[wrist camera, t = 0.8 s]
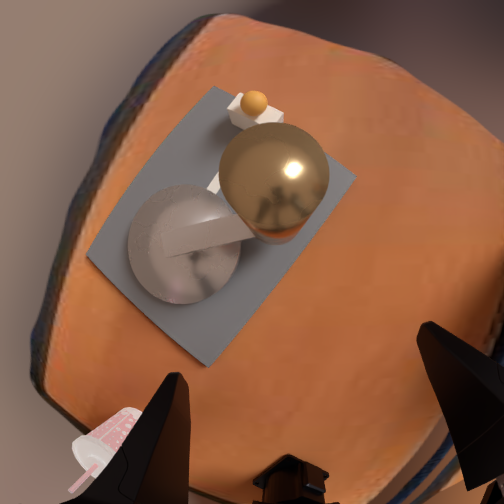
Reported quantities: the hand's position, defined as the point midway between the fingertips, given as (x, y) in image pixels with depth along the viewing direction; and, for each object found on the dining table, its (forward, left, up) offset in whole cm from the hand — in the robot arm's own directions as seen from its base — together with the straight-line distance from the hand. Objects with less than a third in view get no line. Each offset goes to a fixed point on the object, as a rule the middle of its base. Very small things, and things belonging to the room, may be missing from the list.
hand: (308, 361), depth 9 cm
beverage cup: (-22, +4, -16) cm, 28 cm away
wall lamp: (0, +9, -14) cm, 17 cm away
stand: (+2, +10, -15) cm, 19 cm away
